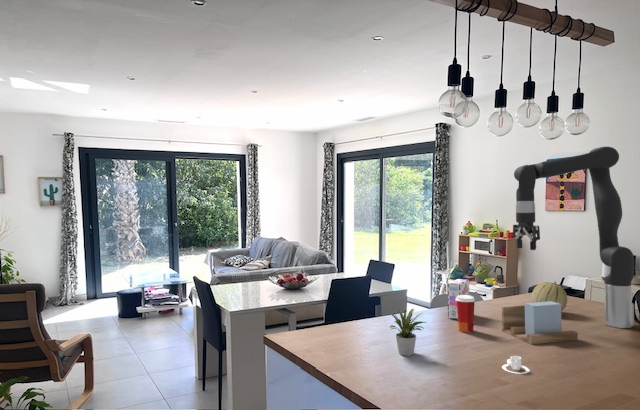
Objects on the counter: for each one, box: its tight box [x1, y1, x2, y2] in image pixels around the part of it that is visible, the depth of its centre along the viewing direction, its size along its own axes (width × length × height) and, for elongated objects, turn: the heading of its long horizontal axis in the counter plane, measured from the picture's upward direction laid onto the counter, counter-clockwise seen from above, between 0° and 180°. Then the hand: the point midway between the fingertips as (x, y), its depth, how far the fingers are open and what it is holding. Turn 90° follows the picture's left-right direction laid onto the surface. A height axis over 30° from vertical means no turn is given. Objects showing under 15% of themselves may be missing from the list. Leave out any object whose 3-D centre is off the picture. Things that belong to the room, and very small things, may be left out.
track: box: [501, 304, 579, 345], centre depth 165 cm, size 17×20×10 cm
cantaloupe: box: [531, 281, 568, 312], centre depth 198 cm, size 15×15×15 cm
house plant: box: [388, 305, 428, 356], centre depth 147 cm, size 14×14×16 cm
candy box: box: [447, 278, 470, 321], centre depth 195 cm, size 14×6×16 cm, turn 143°
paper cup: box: [455, 294, 476, 334], centre depth 173 cm, size 8×8×14 cm
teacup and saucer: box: [501, 355, 531, 375], centre depth 132 cm, size 9×8×4 cm
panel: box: [524, 301, 563, 335], centre depth 163 cm, size 12×5×12 cm, turn 101°
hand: (526, 249), depth 182 cm, fingers open, 8 cm apart
